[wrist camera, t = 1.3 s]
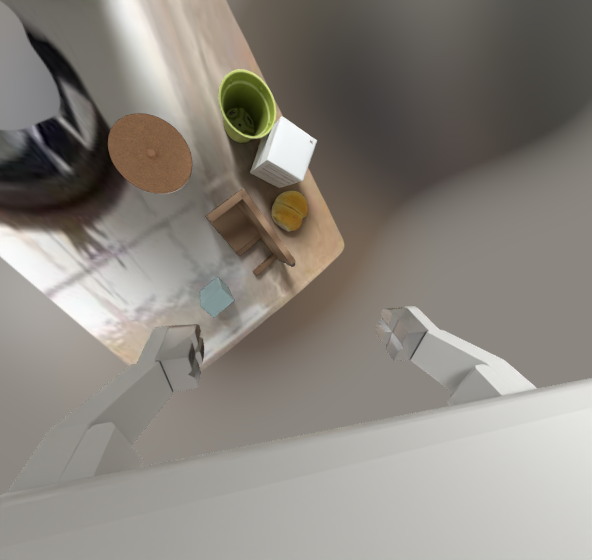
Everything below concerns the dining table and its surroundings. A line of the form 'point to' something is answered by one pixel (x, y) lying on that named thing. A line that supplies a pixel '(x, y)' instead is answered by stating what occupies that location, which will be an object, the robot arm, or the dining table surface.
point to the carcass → (247, 229)
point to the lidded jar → (150, 153)
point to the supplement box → (283, 154)
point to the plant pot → (246, 106)
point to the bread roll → (289, 210)
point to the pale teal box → (215, 297)
